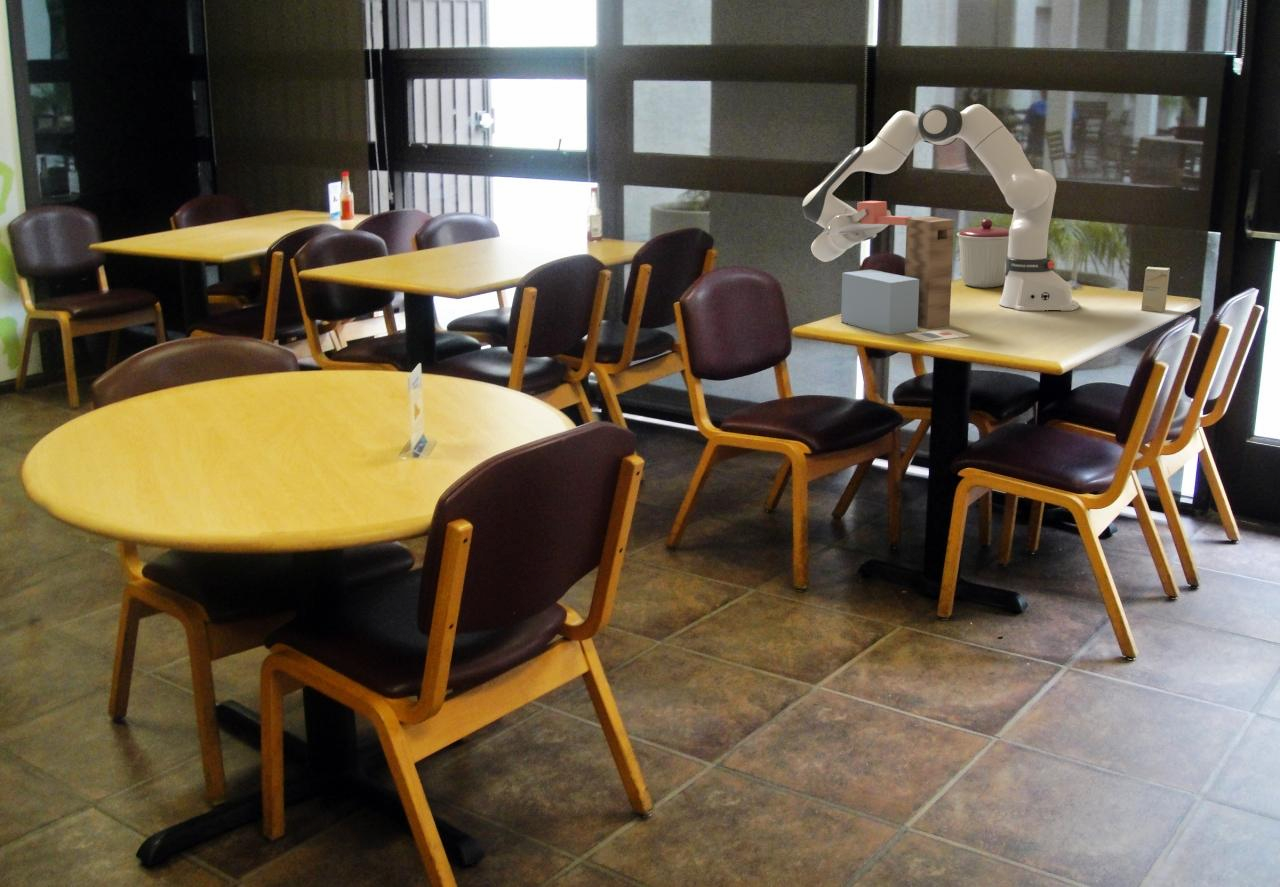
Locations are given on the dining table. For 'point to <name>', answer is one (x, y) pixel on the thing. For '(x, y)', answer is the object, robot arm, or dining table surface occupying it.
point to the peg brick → (879, 214)
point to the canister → (983, 255)
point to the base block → (880, 301)
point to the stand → (931, 267)
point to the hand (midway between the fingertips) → (875, 210)
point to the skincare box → (1155, 289)
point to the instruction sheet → (937, 335)
